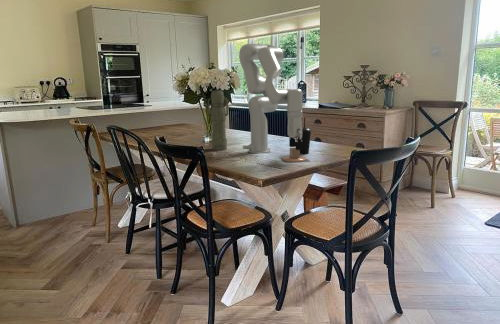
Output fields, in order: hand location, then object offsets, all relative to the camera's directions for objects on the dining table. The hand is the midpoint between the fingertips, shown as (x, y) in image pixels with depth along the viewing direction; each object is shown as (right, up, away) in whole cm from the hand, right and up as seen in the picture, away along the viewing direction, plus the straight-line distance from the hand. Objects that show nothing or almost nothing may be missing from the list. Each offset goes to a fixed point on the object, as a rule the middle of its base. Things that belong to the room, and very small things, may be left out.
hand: (295, 148), depth 192 cm
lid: (0, -6, +2) cm, 6 cm away
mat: (0, -6, +2) cm, 6 cm away
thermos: (-41, +1, +36) cm, 55 cm away
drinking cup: (+7, -3, +17) cm, 18 cm away
